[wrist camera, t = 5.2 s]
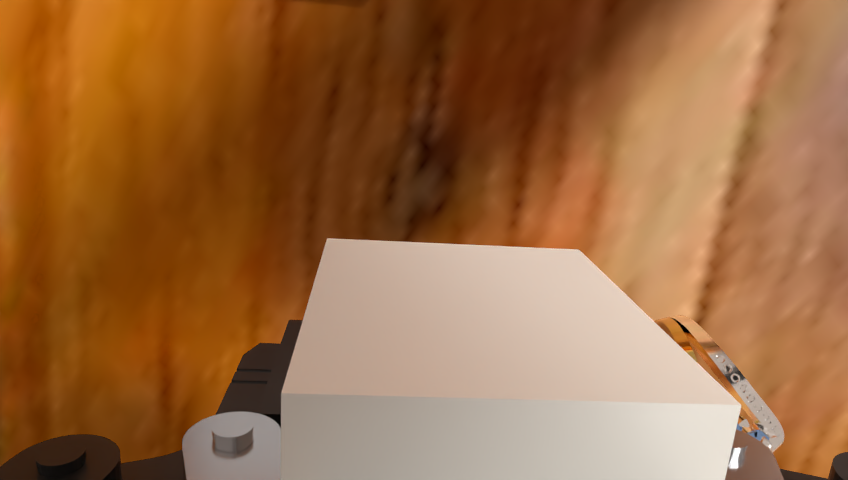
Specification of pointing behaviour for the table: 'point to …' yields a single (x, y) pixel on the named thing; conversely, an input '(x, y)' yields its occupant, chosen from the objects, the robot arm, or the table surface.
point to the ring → (727, 379)
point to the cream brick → (490, 373)
